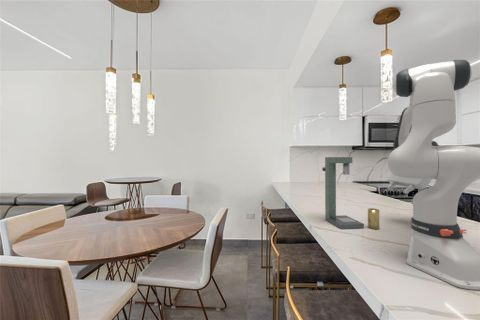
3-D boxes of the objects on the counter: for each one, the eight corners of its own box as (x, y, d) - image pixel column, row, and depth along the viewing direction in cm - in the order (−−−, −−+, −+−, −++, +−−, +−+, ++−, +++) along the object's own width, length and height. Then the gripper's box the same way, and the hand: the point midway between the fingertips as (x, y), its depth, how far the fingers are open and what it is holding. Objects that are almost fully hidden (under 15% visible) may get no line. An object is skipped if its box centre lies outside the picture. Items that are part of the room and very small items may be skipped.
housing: (381, 229, 109) (381, 210, 109) (372, 229, 109) (372, 210, 108) (374, 225, 114) (374, 207, 114) (365, 226, 114) (365, 208, 113)
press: (364, 227, 111) (364, 157, 110) (339, 228, 110) (339, 157, 109) (339, 215, 133) (339, 156, 132) (319, 216, 132) (319, 157, 131)
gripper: (394, 165, 123) (377, 183, 122) (429, 168, 103) (409, 190, 102) (402, 173, 124) (385, 191, 123) (438, 177, 103) (418, 199, 103)
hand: (396, 191), depth 112 cm, fingers open, 8 cm apart
